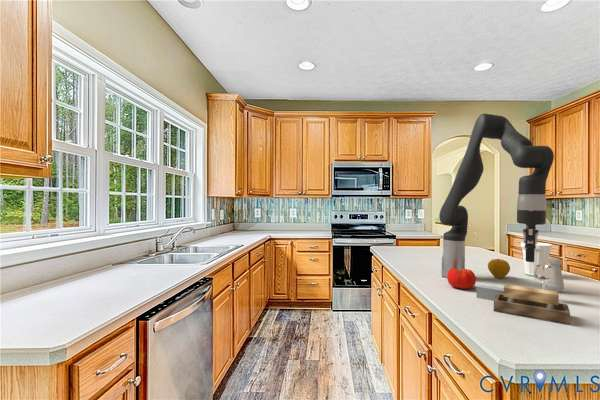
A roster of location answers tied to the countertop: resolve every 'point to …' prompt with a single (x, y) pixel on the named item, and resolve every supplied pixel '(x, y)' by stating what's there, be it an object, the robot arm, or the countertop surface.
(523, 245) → the cup
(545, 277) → the wineglass
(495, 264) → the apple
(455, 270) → the tomato
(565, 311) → the peg frame
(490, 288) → the stand
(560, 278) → the salt shaker
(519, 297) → the board
